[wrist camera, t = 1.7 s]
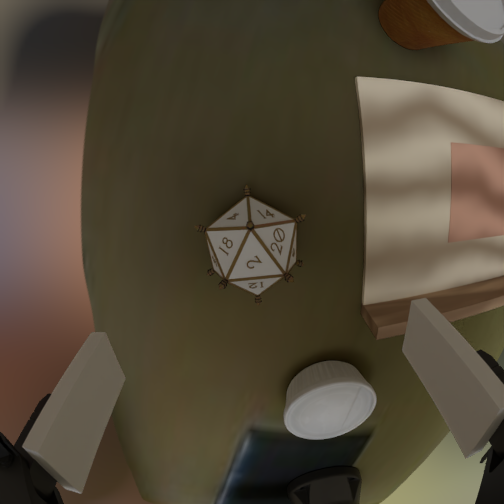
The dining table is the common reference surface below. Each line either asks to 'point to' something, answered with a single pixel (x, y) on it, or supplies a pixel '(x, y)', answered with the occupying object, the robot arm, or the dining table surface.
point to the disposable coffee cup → (442, 21)
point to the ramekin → (327, 400)
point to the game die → (252, 246)
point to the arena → (430, 201)
